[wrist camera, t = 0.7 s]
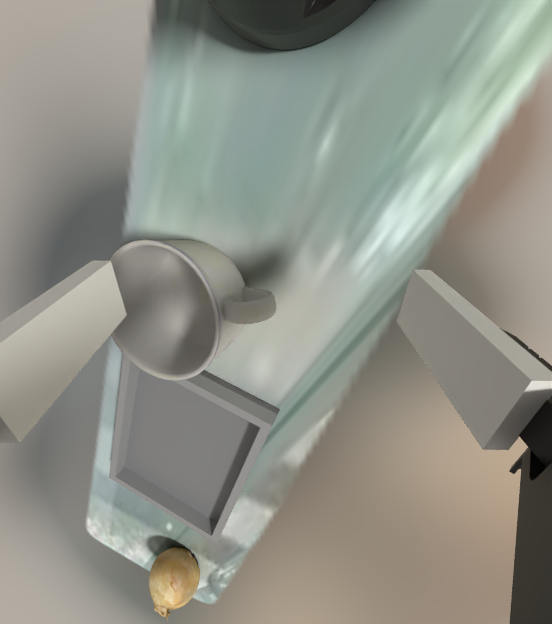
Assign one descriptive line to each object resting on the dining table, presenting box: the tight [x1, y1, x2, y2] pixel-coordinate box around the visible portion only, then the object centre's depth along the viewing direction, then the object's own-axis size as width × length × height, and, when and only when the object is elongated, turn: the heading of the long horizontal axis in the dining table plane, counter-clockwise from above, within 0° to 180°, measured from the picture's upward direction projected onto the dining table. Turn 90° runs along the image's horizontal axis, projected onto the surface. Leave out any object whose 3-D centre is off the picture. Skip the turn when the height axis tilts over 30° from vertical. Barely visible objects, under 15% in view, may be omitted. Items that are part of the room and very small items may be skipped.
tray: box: [109, 353, 280, 544], centre depth 35 cm, size 24×18×2 cm
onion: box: [149, 547, 200, 621], centre depth 44 cm, size 8×8×7 cm
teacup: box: [108, 240, 276, 381], centre depth 24 cm, size 14×11×8 cm
